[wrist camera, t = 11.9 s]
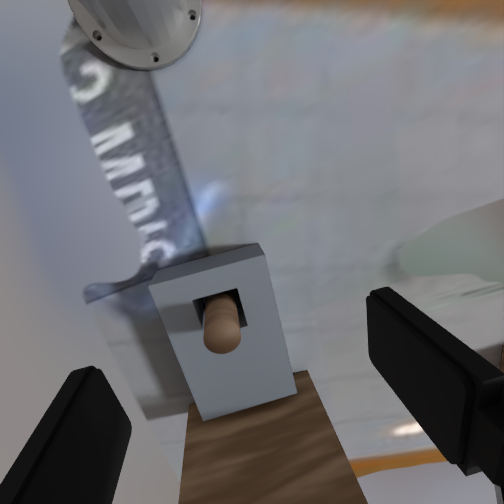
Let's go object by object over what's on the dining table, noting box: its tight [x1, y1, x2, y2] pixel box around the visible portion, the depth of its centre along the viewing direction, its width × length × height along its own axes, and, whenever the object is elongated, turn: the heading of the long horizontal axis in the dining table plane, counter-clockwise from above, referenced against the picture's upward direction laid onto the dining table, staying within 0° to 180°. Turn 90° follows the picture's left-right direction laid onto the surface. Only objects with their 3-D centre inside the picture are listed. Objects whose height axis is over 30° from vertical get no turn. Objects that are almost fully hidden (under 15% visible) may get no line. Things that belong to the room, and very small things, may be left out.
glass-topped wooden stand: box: [179, 370, 368, 504], centre depth 27 cm, size 12×20×32 cm, turn 103°
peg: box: [203, 289, 241, 354], centre depth 33 cm, size 4×4×10 cm
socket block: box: [148, 243, 297, 421], centre depth 37 cm, size 22×14×5 cm, turn 13°
